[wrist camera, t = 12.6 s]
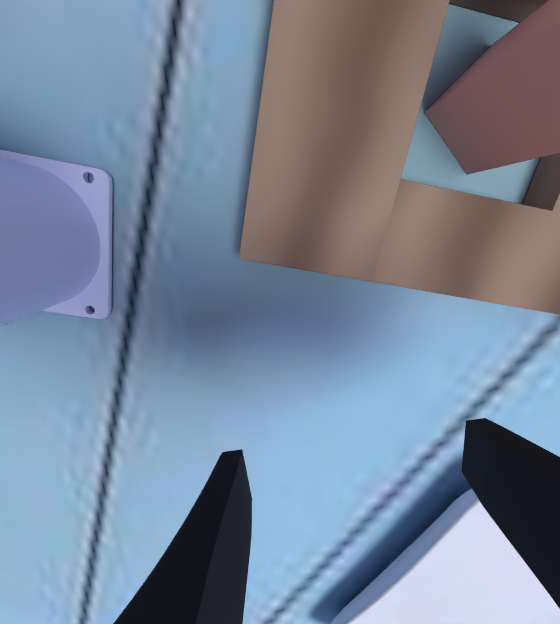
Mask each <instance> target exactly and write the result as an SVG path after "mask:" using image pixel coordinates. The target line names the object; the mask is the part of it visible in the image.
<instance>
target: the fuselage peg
mask: <svg viewBox="0 0 560 624" xmlns="http://www.w3.org/2000/svg"><path fill="white" fill-rule="evenodd" d="M424 113H425V115H426V116H427V118H428V119H429V120H430V122H431V123H432V125H433V126H434V128H435V129H436V131H437V132H438V133H439V135H440V136H441V138H442V139H443V141H444V142H445V144H446V145H447V146H448V148H449V149H450V151H451V152H452V154H453V155H454V156H455V158H456V159H457V161H458V162H459V164H460V165H461V167H462V168H463V169H464V171H465V172H466V174H471V173H475V172H479V171H484V170H488V169H492V168H497V167H501V166H505V165H510V164H514V163H518V162H522V161H527V160H531V159H535V158H540V157H544V156H548V155H552V154H557V153H560V0H549V1H547V2H546V3H545V4H544V5H542V6H541V7H540V8H538V9H537V10H536V11H535V12H533V13H532V14H531V15H530V16H528V17H527V18H526V19H524V20H523V21H522V22H521V23H519V24H518V25H517V26H516V27H514V28H513V29H512V30H510V31H509V32H508V33H507V34H505V35H504V36H503V37H501V38H500V39H499V40H498V41H496V42H495V43H494V44H493V45H491V46H490V47H489V48H488V49H487V50H486V51H485V52H484V53H483V54H482V55H481V56H480V57H479V58H478V59H477V60H476V61H475V62H474V63H473V64H472V65H471V66H470V67H469V68H468V69H467V70H466V71H465V72H464V73H463V74H462V75H461V76H460V77H459V78H458V79H457V80H456V81H455V82H454V83H453V84H452V85H451V86H450V87H449V88H448V89H447V90H446V91H445V92H444V93H443V94H442V95H441V96H440V97H439V98H438V99H437V100H436V101H435V102H434V103H433V104H432V105H431V106H430V107H429V108H428V109H427V110H426V111H425V112H424Z"/></svg>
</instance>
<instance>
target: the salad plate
mask: <svg viewBox="0 0 560 624" xmlns="http://www.w3.org/2000/svg"><path fill="white" fill-rule="evenodd" d="M330 624H560V609H559V607H558V606H557V605H556V603H555V602H554V600H553V599H552V598H551V596H550V595H549V593H548V592H547V591H546V589H545V588H544V587H543V585H542V584H541V583H540V582H539V580H538V579H537V578H536V576H535V575H534V574H533V572H532V571H531V570H530V568H529V567H528V566H527V564H526V563H525V562H524V560H523V559H522V558H521V556H520V555H519V554H518V552H517V551H516V550H515V549H514V547H513V546H512V545H511V543H510V542H509V541H508V539H507V538H506V537H505V535H504V534H503V533H502V531H501V530H500V529H499V527H498V526H497V525H496V523H495V522H494V521H493V519H492V518H491V517H490V515H489V514H488V512H487V511H486V510H485V508H484V507H483V506H482V504H481V502H480V501H479V499H478V498H477V496H476V494H475V493H474V491H473V490H472V489H470V490H468V491H466V492H465V493H463V494H462V495H461V496H460V497H459V498H457V499H456V500H455V501H454V502H453V503H452V504H451V505H450V506H449V507H448V508H447V509H446V510H445V511H444V512H443V513H442V514H441V516H440V517H439V518H438V519H437V520H435V521H434V522H433V523H432V524H431V525H430V526H429V527H428V528H427V529H426V530H425V531H424V532H423V533H422V534H421V535H420V536H419V537H418V538H417V539H416V540H415V541H414V542H413V543H412V544H410V545H409V546H408V547H407V548H406V549H405V550H404V551H403V552H402V553H401V554H400V555H399V556H398V557H397V558H396V559H395V560H394V561H393V562H392V563H391V564H390V565H389V566H388V567H387V568H386V569H385V570H384V571H383V572H382V573H381V574H380V575H379V576H377V577H376V578H375V579H374V580H373V581H372V582H371V583H370V584H369V585H368V586H367V587H366V588H365V589H364V590H363V591H362V592H361V593H360V594H358V595H357V596H356V597H355V598H354V599H353V600H352V601H351V602H350V603H348V604H347V605H346V606H345V607H344V608H343V609H342V610H341V612H340V613H339V614H338V615H337V616H336V617H335V618H334V619H333V621H332V622H331V623H330Z"/></svg>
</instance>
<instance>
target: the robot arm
mask: <svg viewBox="0 0 560 624" xmlns="http://www.w3.org/2000/svg"><path fill="white" fill-rule="evenodd" d="M90 173H91V174H92V175H93V177H94V180H93V182H92V183H90V182H89V181H88V178H87V177H88V174H90ZM112 194H113V182H112V177H111V176H110V174H109V173H108V172H107V171H104V170H102V169H98V168H93V167H88V166H82V165H77V164H72V163H67V162H62V161H57V160H51V159H46V158H41V157H36V156H31V155H26V154H20V153H15V152H10V151H5V150H0V326H3V325H5V324H8V323H10V322H13V321H16V320H18V319H21V318H23V317H26V316H28V315H31V314H33V313H36V312H38V311H47V312H53V313H60V314H67V315H74V316H80V317H87V318H94V319H105V318H107V317H108V316H109V315H110V314H111V298H112ZM89 306H92V307H93V308H94V309H95V312H92V311H91V310H90V309H89ZM462 472H463V474H464V476H465V478H466V479H467V481H468V483H469V484H470V486H471V488H472V490H473V491H474V493H475V494H476V496H477V498H478V499H479V501H480V502H481V504H482V506H483V507H484V508H485V510H486V511H487V512H488V514H489V515H490V517H491V518H492V519H493V521H494V522H495V523H496V525H497V526H498V527H499V529H500V530H501V531H502V533H503V534H504V535H505V537H506V538H507V539H508V541H509V542H510V543H511V545H512V546H513V547H514V549H515V550H516V551H517V552H518V554H519V555H520V556H521V558H522V559H523V560H524V562H525V563H526V564H527V566H528V567H529V568H530V570H531V571H532V572H533V574H534V575H535V576H536V578H537V579H538V580H539V582H540V583H541V584H542V585H543V587H544V588H545V589H546V591H547V592H548V593H549V595H550V596H551V598H552V599H553V600H554V602H555V603H556V605H557V606H558V607H559V609H560V457H559V456H557V455H555V454H553V453H551V452H549V451H547V450H545V449H543V448H542V447H540V446H538V445H536V444H534V443H532V442H530V441H528V440H527V439H525V438H523V437H521V436H519V435H517V434H515V433H513V432H512V431H510V430H508V429H506V428H504V427H502V426H500V425H498V424H496V423H494V422H492V421H490V420H488V419H486V418H483V419H475V420H467V421H466V428H465V439H464V451H463V462H462ZM251 530H252V497H251V492H250V487H249V481H248V476H247V471H246V466H245V461H244V456H243V451H242V450H235V451H227V452H223V453H222V454H221V455H220V457H219V459H218V461H217V463H216V465H215V467H214V469H213V471H212V473H211V475H210V477H209V479H208V481H207V483H206V484H205V486H204V488H203V490H202V492H201V494H200V495H199V497H198V499H197V501H196V502H195V504H194V506H193V507H192V509H191V511H190V513H189V514H188V516H187V518H186V519H185V521H184V523H183V524H182V526H181V528H180V529H179V531H178V532H177V534H176V535H175V537H174V539H173V540H172V542H171V543H170V545H169V546H168V548H167V550H166V551H165V553H164V554H163V556H162V557H161V559H160V560H159V562H158V563H157V565H156V566H155V568H154V569H153V571H152V572H151V573H150V575H149V576H148V578H147V579H146V581H145V582H144V583H143V585H142V586H141V587H140V589H139V590H138V592H137V593H136V594H135V596H134V597H133V599H132V600H131V601H130V603H129V604H128V605H127V607H126V608H125V609H124V610H123V612H122V613H121V614H120V616H119V617H118V618H117V620H116V621H115V622H114V623H113V624H242V622H243V613H244V603H245V593H246V584H247V574H248V565H249V555H250V545H251Z"/></svg>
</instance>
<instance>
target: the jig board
mask: <svg viewBox="0 0 560 624" xmlns="http://www.w3.org/2000/svg"><path fill="white" fill-rule="evenodd" d="M547 1H549V0H274V4H273V11H272V18H271V26H270V33H269V40H268V48H267V55H266V63H265V70H264V77H263V85H262V92H261V99H260V107H259V114H258V121H257V129H256V136H255V143H254V151H253V158H252V165H251V173H250V180H249V187H248V195H247V202H246V209H245V217H244V224H243V231H242V239H241V246H240V254H239V259H244V260H250V261H255V262H261V263H267V264H273V265H278V266H284V267H290V268H296V269H301V270H307V271H313V272H319V273H324V274H330V275H336V276H342V277H347V278H353V279H359V280H365V281H370V282H376V283H382V284H388V285H393V286H399V287H405V288H411V289H416V290H422V291H428V292H434V293H439V294H445V295H451V296H457V297H462V298H468V299H474V300H480V301H485V302H491V303H497V304H503V305H508V306H514V307H520V308H526V309H531V310H537V311H543V312H549V313H554V314H560V153H557V154H552V155H548V156H544V157H541V158H540V161H539V163H538V166H537V168H536V171H535V173H534V176H533V178H532V181H531V184H530V186H529V189H528V191H527V194H526V196H525V199H524V201H523V204H522V205H521V204H516V203H512V202H507V201H502V200H497V199H492V198H488V197H483V196H478V195H473V194H469V193H464V192H459V191H454V190H449V189H445V188H440V187H435V186H430V185H426V184H421V183H416V182H411V181H406V180H402V179H401V175H402V171H403V168H404V164H405V161H406V157H407V153H408V150H409V146H410V142H411V139H412V135H413V132H414V128H415V124H416V121H417V117H418V113H419V110H420V106H421V102H422V99H423V95H424V92H425V88H426V84H427V81H428V77H429V73H430V70H431V66H432V63H433V59H434V55H435V52H436V48H437V44H438V41H439V37H440V33H441V30H442V26H443V23H444V19H445V15H446V12H447V8H448V4H449V3H451V4H454V5H458V6H462V7H465V8H469V9H473V10H476V11H480V12H484V13H488V14H491V15H495V16H499V17H502V18H506V19H510V20H513V21H517V22H522V21H523V20H524V19H526V18H527V17H528V16H530V15H531V14H532V13H533V12H535V11H536V10H537V9H538V8H540V7H541V6H542V5H544V4H545V3H546V2H547Z"/></svg>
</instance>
